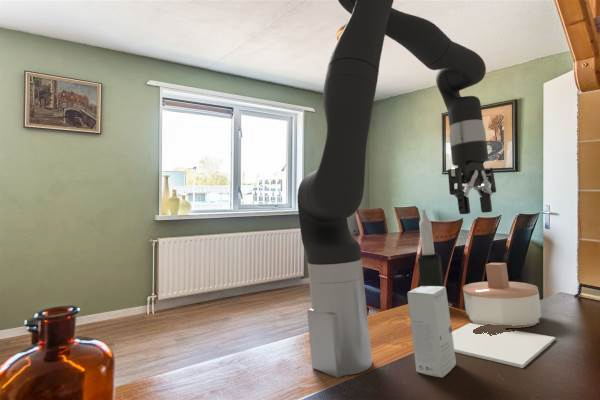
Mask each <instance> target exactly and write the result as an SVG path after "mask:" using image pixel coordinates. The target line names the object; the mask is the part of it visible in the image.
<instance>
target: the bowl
mask: <svg viewBox="0 0 600 400" xmlns="http://www.w3.org/2000/svg"><path fill="white" fill-rule="evenodd" d="M462 293H463V299H464V309H465V314H466V315H468V320H469V321H470V323H471V322H472V324H478V325H487V324H491V325H512V326H515V325H516V326H517V325H527V324H533V323H535V322H537V321H538V320H539V321H540V318H542V316H543V315H542V314H543V313H542V309H541V308H542V306H541V301H540V293H539V290H538V294H536V295H533V296H529V297H523V298H484V297H477V296H472V295H468V294H466V293H464V291H463V292H462Z"/></svg>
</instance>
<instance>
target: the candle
mask: <svg viewBox="0 0 600 400" xmlns="http://www.w3.org/2000/svg"><path fill="white" fill-rule="evenodd" d="M421 211H422V212H421V213H422V214H421V218H420V221H419V223H418V224H419V234H420V241H421V252H422V253H420V254H419V255H418V256H419V257H417V264H418V265H417V266H418V274H419V285H420V286H419V287H421V286H442V287H445V286H444V285H445V283H444V275H443V274H444V273H443V267H442V266H443V265H442V258H441V257H442V256H441V255H439V253H437V252H436V253H435V247H434V246H435V244H434V236H433V235H434V234H433V228H432V221H431V220H430V219H429V218H428V215H427V213H426V209H425V208H424V209H422V210H421Z"/></svg>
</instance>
